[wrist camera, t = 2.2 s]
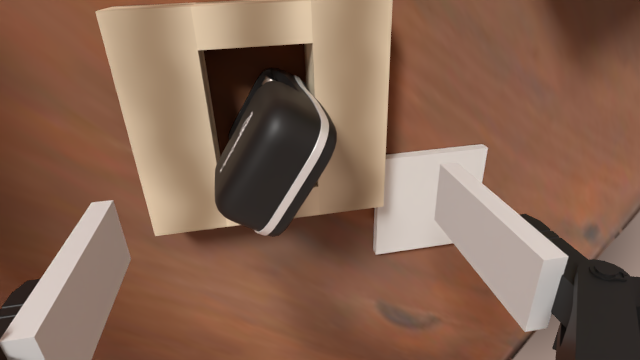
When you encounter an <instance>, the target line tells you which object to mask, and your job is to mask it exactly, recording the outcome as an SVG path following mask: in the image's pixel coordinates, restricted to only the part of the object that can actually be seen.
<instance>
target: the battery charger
mask: <svg viewBox="0 0 640 360" xmlns="http://www.w3.org/2000/svg"><path fill="white" fill-rule="evenodd" d="M336 142H337V131H336V128H335V125H334V124H333V122H332V120H331V118H330V116H329V115H328V113H327V111H326V110H325V109H324V107H323V106H322V105H321V103H320V102H319V101H318V100H317V99H316V98H315V97H314V96H313V95H312V94H311V92H310V91H309V89H308V88H307V86H306V84H305V82H304V81H302V80H301V79H300V77H298V76H296V75H292V74H290V73H288V72H286V71H284V70H280V69H277V68H268V69H266V70H264V71H263V72H262V73H261V74H260V75H259V77H258V79H257V80H256V82H255V84H254V86H253V88H252V89H251V91H250V93H249V95H248V97H247V99H246V101H245V103H244V105H243V106H242V108H241V110H240V112H239V114H238V116H237V118H236V119H235V121H234V123H233V125H232V127H231V130H230V132H229V142H228V144H227V145H226V147H225V149H224V151H223V153H222V155H221V157H220V158H219V161H218V163H217V165H216V168H215V204H216V207H217V209H218V211H219V212H220V213H221V214H222V215H223V216H224V217H225V218H227V219H229V220H231V221H233V222H235V223H238V224H240V225H243V226H245V227H248V228H251V229H253V230H254V231H255V232H256V233H258V234H261V235H264V236H266V235H268V236H272V237H274V236H278V235H280V234H281V233H282V232H283V231H284V230H286V228H287V227H288V225H289V224H290V223H291V221H292V220H293V218H294V217H295V215H296V214H297V212H298V211H299V209H300V207H301V206H302V204H303V203H304V201H305V200H306V198H307V197H308V195H309V194H310V192H311V190H312V189H313V187H314V186H315V184H316V182H317V181H318V179H319V178H320V176H321V174H322V173H323V171H324V170H325V168H326V166H327V165H328V163H329V161H330V159H331V157H332V155H333V152H334V150H335V147H336Z"/></svg>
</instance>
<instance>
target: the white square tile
mask: <svg viewBox="0 0 640 360" xmlns="http://www.w3.org/2000/svg"><path fill="white" fill-rule="evenodd" d="M487 150H488V148H487V147H486V146H485V145H483V144H479V145H470V146H460V147H451V148H442V149H433V150H424V151H415V152H406V153H397V154H388V155H386V158H385V181H384V204H383V207H376V208H375V210H374V240H373V250H374V252H375V254H376V255H377V254H384V253H390V252H397V251H404V250H411V249H417V248H424V247H431V246H438V245H445V244H451V243H453V242H452V241H451V240H450V238H449V237H448V236H447V235H446V234H445V232H444V231H443V230H442V229H441V227H440V226H439V225H438V224H437V222H436V221H435V220H434V217H435V208H436V199H437V189H438V180H439V171H440V164H448V163H458V164H460V165H461V166H462V167H463V168H464V169H466V170H467V171H468V172H469V173H470V174H471V175H473V176H474V177H475V178H476V179H477V180H479V181H480V182H481V183H482V180H483V174H484V168H485V162H486V156H487Z"/></svg>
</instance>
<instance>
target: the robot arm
mask: <svg viewBox="0 0 640 360" xmlns="http://www.w3.org/2000/svg"><path fill="white" fill-rule="evenodd" d="M434 220H435V221H436V222H437V224H438V225H439V226H440V227H441V229H442V230H443V231H444V232H445V234H446V235H447V236H448V237H449V238H450V240H451V241H452V242H453V243H454V245H455V246H456V247H457V248H458V250H459V251H460V252H461V253H462V255H463V256H464V257H465V258H466V260H467V261H468V262H469V263H470V265H471V266H472V267H473V268H474V269H475V271H476V272H477V273H478V274H479V276H480V277H481V278H482V279H483V281H484V282H485V283H486V284H487V286H488V287H489V288H490V289H491V291H492V292H493V293H494V294H495V296H496V297H497V298H498V299H499V300H500V302H501V303H502V304H503V305H504V307H505V308H506V309H507V310H508V312H509V313H510V314H511V315H512V317H513V318H514V319H515V320H516V322H517V323H518V324H519V325H520V327H521V328H522V329H523V330H524V331H525V332H527V331H533V330H539V329H544V328H547V327H548V324H549V320H550V317H551V314H553V315H554V316H555V317H556V318H557V319H558V320H559V321H560V322H561V323H560V326H559V329H558V332H557V335H556V338H555V342H554V345H553V349H555V350H556V360H640V277H631V276H630V275H629V274H628V273H626V272H625V271H624V270H623V269H621V268H620V267H618V266H616V265H614V264H611V263H608V262H605V261H601V260H594V259H593V260H588V259H587V258H585V257H584V256H583V255H582V254H581V253H579V252H578V251H577V250H576V249H574V248H573V247H572V246H571V245H569V244H568V243H567V242H566V241H564V240H563V239H562V238H559V236H558V235H557V234H556V233H554V232H553V231H550V229H549V228H548V227H547V226H546V225H545V224H543V223H542V222H541V221H539V220H537V219H535V218H533V217H531V216H529V215H527V214H521V215H519V214H518V213H516V212H515V211H514V210H513V209H512V208H510V207H509V206H508V205H507V204H506V203H505V202H503V201H502V200H501V199H500V198H499V197H497V196H496V195H495V194H494V193H493V192H492V191H490V190H489V189H488V188H487V187H486V186H484V185H483V184H482V183H481V182H480V181H479V180H477V179H476V178H475V177H474V176H473V175H471V174H470V173H469V172H468V171H467V170H466V169H464V168H463V167H462V166H461V165H460V164H458V163H448V164H440V171H439V180H438V189H437V199H436V208H435V217H434ZM130 260H131V257H130V254H129V250H128V247H127V244H126V241H125V237H124V234H123V231H122V228H121V224H120V221H119V218H118V214H117V211H116V208H115V205H114V201H113V200H110V201H101V202H92V203H91V204H90V206H89V207H88V209H87V210H86V212H85V213H84V215H83V216H82V218H81V219H80V221H79V222H78V224H77V225H76V227H75V228H74V230H73V231H72V233H71V234H70V236H69V237H68V239H67V240H66V242H65V243H64V245H63V246H62V248H61V249H60V251H59V252H58V254H57V255H56V257H55V258H54V260H53V261H52V263H51V264H50V266H49V267H48V269H47V270H46V272H45V273H44V275H43V276H42V278H41V279H37V280H29V281H26V282H25V283H24V284H23V285H21V286H20V287H19V288H18V289H16V290H15V291H14V292H12V293H11V295H10V296H9V297H8V299H7V300H6V302H5V303H4V304H3V306H2V309H0V360H91V359H92V357H93V354H94V352H95V349H96V347H97V344H98V342H99V339H100V337H101V334H102V331H103V329H104V326H105V324H106V321H107V319H108V316H109V314H110V311H111V309H112V306H113V303H114V301H115V298H116V296H117V293H118V291H119V288H120V286H121V283H122V281H123V278H124V275H125V273H126V270H127V268H128V265H129V263H130Z"/></svg>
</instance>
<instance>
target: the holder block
mask: <svg viewBox="0 0 640 360" xmlns="http://www.w3.org/2000/svg"><path fill="white" fill-rule="evenodd" d="M95 12H96V16H97V19H98V23H99V27H100V31H101V34H102V38H103V42H104V46H105V49H106V53H107V57H108V61H109V64H110V68H111V72H112V76H113V79H114V83H115V87H116V91H117V94H118V98H119V102H120V106H121V109H122V113H123V117H124V121H125V124H126V128H127V132H128V136H129V139H130V143H131V147H132V151H133V155H134V158H135V162H136V166H137V170H138V173H139V177H140V181H141V185H142V188H143V192H144V196H145V200H146V203H147V207H148V211H149V215H150V218H151V222H152V226H153V230H154V233H155V236H160V235H167V234H175V233H183V232H190V231H198V230H206V229H214V228H221V227H229V226H237V225H240V224H238V223H235V222H233V221H231V220H229V219H227V218H225V217H224V216H223V215H222V214H221V213H220V212H219V211H218V209H217V207H216V204H215V168H216V165H217V163H218V161H219V158H220V157H221V156H220V150H219V144H218V137H217V131H216V125H215V119H214V112H213V106H212V100H211V94H210V87H209V81H208V75H207V69H206V62H205V56H204V50H212V49H228V48H243V47H259V46H274V45H289V44H304V52H305V72H306V86H307V88H308V89H309V91H310V92H311V94H312V95H313V96H314V97H315V98H316V99H317V100H318V101H319V102H320V103H321V105H322V106H323V107H324V109H325V110H326V111H327V113H328V115H329V116H330V118H331V120H332V122H333V124H334V125H335V128H336V131H337V142H336V147H335V150H334V152H333V155H332V157H331V159H330V161H329V163H328V165H327V166H326V168H325V170H324V171H323V173H322V174H321V176H320V178H319V179H318V181H317V182H316V184H315V186H314V187H313V189H312V190H311V192H310V194H309V195H308V197H307V198H306V200H305V201H304V203H303V204H302V206H301V207H300V209H299V211H298V212H297V214H296V215H295V217H294V218H298V217H306V216H314V215H322V214H329V213H337V212H345V211H352V210H360V209H368V208H376V207H383V204H384V181H385V158H386V136H387V113H388V90H389V68H390V45H391V23H392V0H242V1H221V2H200V3H179V4H158V5H137V6H115V7H110V8H106V9H102V10H98V11H95Z"/></svg>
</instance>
